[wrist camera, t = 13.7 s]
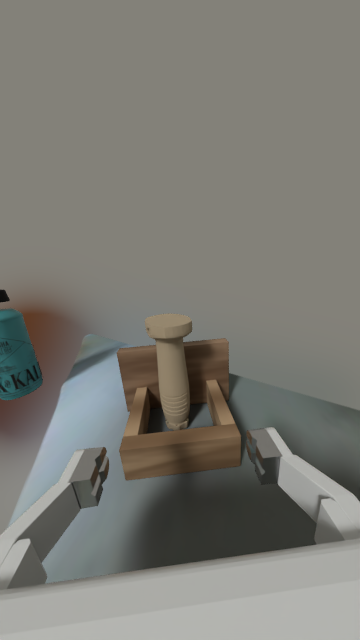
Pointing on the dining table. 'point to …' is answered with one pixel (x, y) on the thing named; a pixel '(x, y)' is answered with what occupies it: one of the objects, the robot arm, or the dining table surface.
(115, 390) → the dining table surface
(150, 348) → the wooden drawer
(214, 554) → the dining table surface
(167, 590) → the robot arm
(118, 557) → the dining table surface
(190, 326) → the handle
